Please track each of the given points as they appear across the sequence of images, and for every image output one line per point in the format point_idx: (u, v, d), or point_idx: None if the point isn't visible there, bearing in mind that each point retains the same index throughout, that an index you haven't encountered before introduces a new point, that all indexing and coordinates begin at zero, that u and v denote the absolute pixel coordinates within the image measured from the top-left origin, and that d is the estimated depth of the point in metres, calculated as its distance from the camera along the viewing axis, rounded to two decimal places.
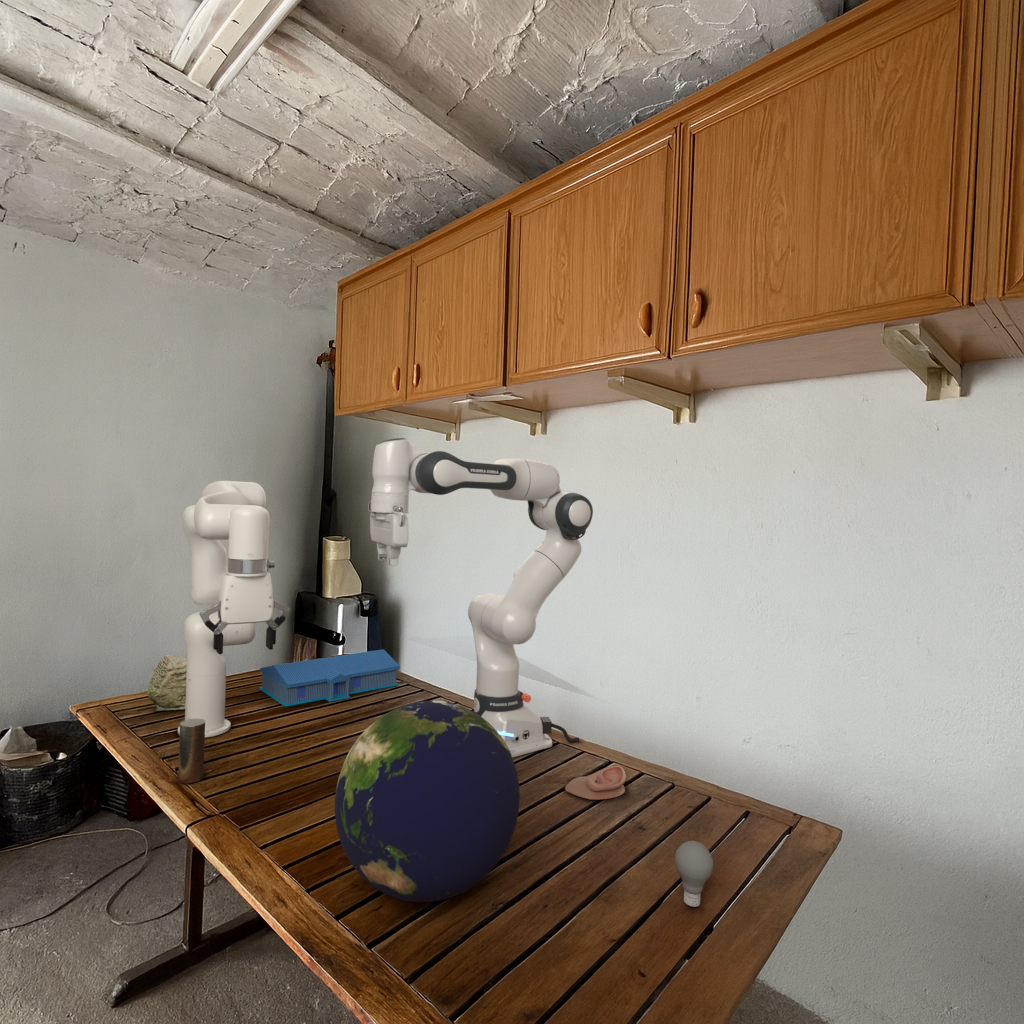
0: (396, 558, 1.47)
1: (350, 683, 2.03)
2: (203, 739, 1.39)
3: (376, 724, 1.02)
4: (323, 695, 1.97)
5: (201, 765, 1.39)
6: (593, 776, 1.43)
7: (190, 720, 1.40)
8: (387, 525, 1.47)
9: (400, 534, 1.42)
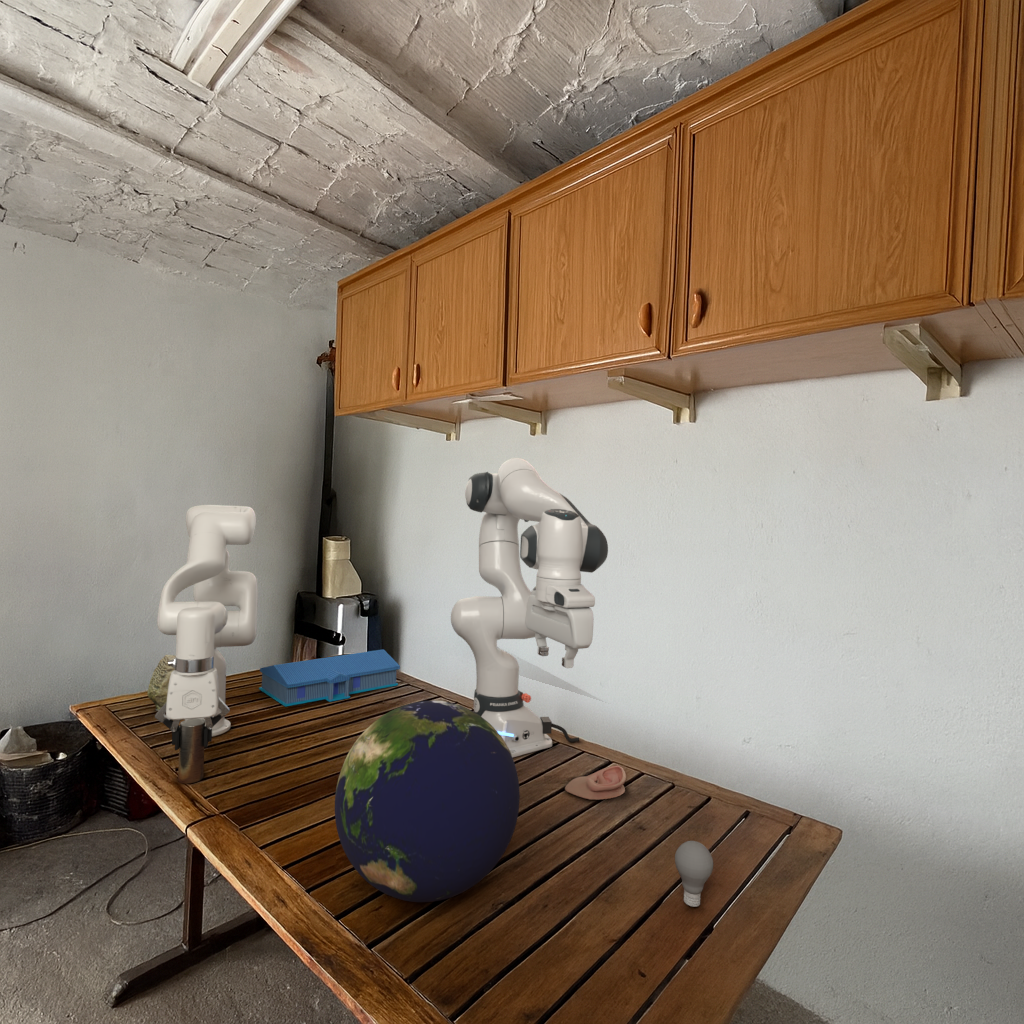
0: None
1: (350, 683, 2.03)
2: (203, 739, 1.39)
3: (376, 724, 1.02)
4: (323, 695, 1.97)
5: (201, 765, 1.39)
6: (593, 776, 1.43)
7: (190, 720, 1.40)
8: None
9: None
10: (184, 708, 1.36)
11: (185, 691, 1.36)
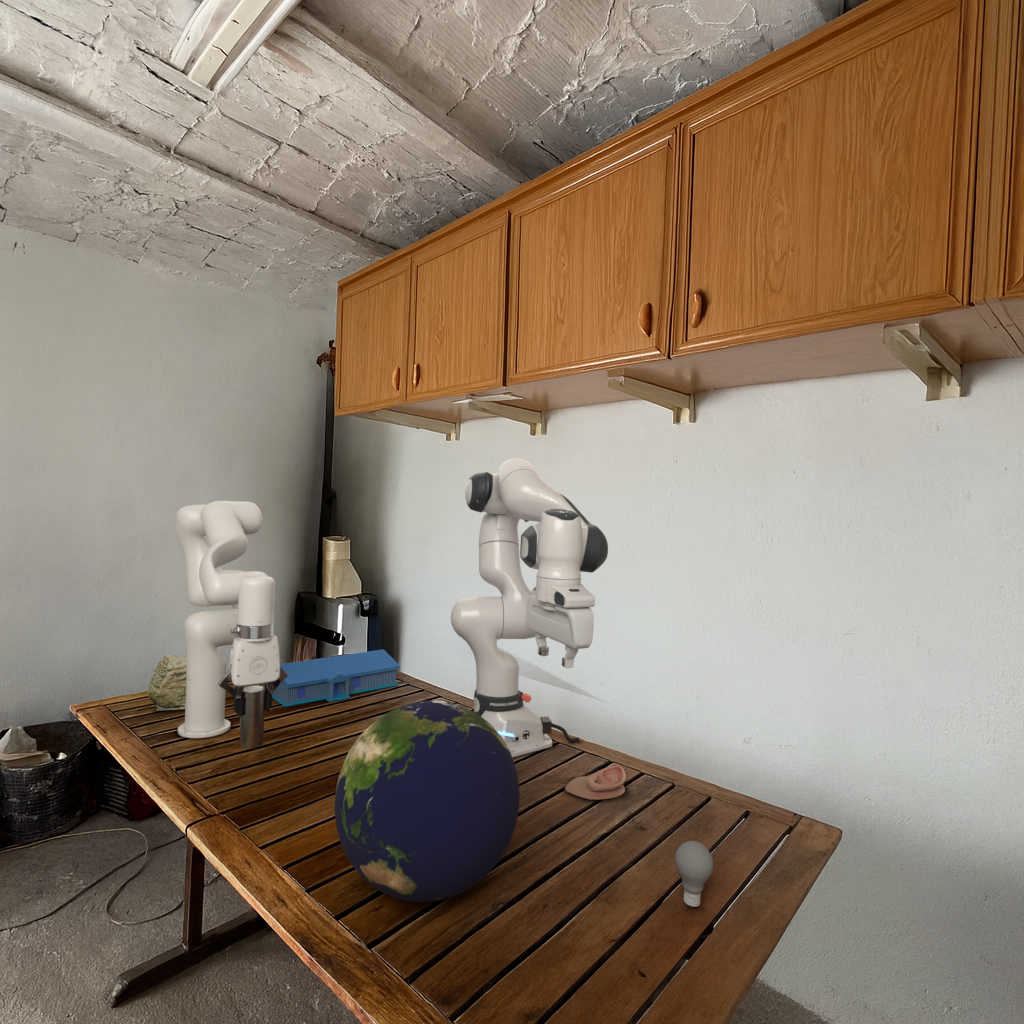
0: None
1: (350, 683, 2.03)
2: (264, 704, 1.42)
3: (376, 724, 1.02)
4: (323, 695, 1.97)
5: (263, 729, 1.42)
6: (593, 776, 1.43)
7: (248, 687, 1.42)
8: None
9: None
10: (251, 674, 1.38)
11: (252, 657, 1.38)
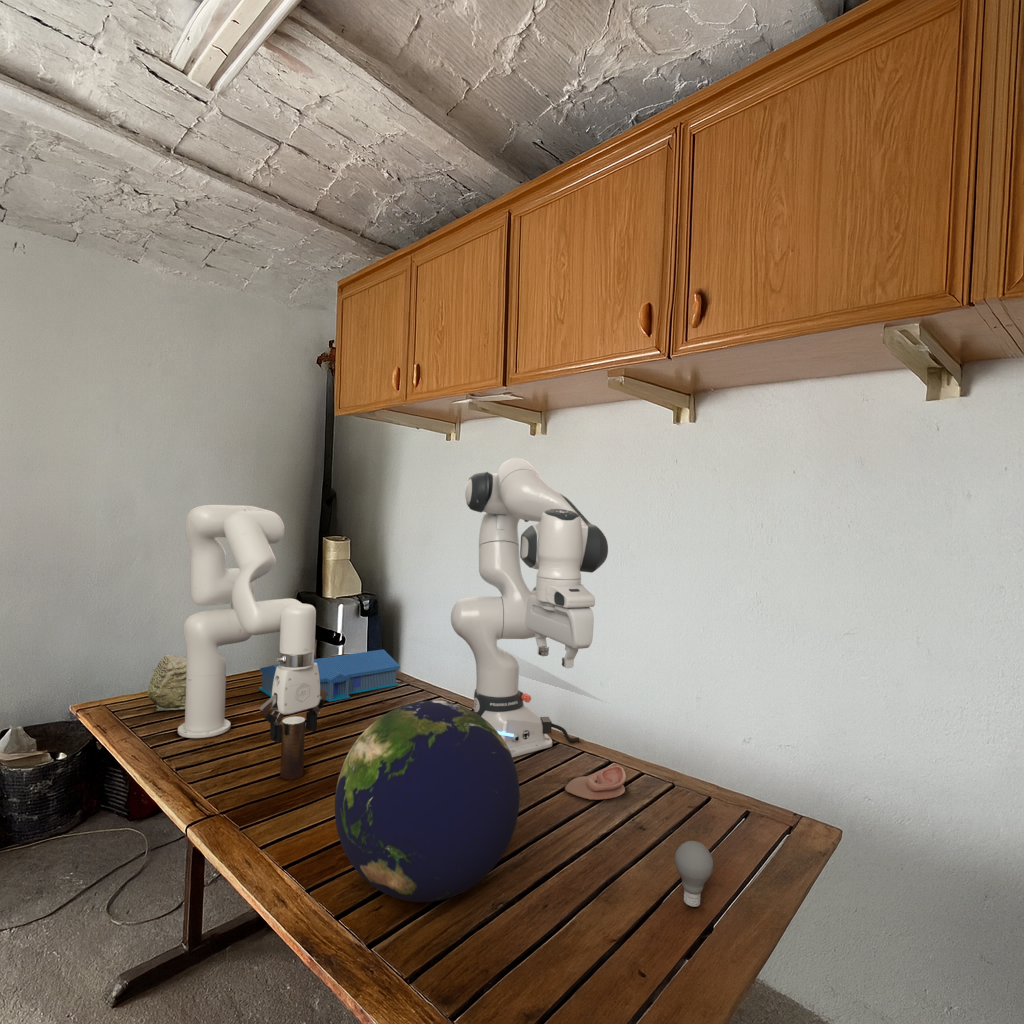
0: None
1: (350, 683, 2.03)
2: None
3: (376, 724, 1.02)
4: None
5: (303, 759, 1.44)
6: (593, 776, 1.43)
7: (287, 719, 1.44)
8: None
9: None
10: (297, 701, 1.40)
11: (298, 685, 1.40)
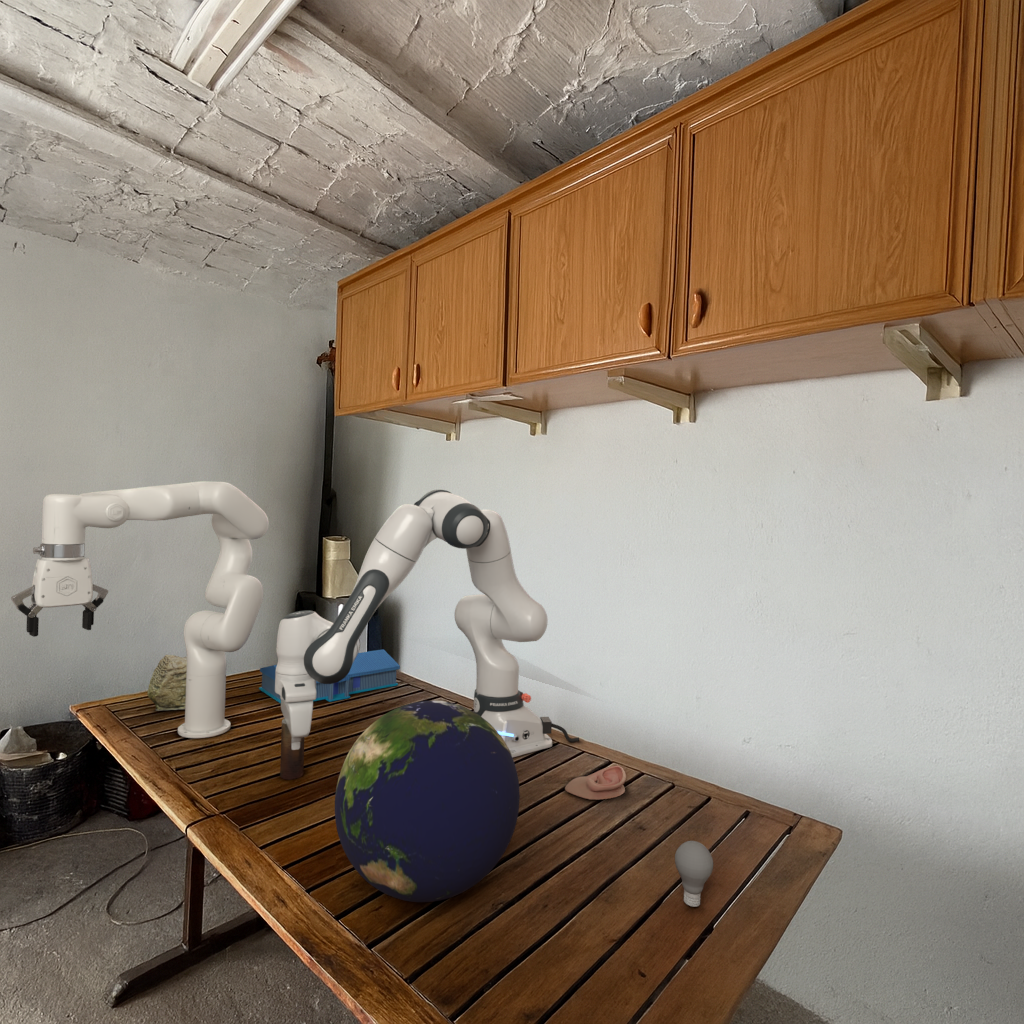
0: None
1: (350, 683, 2.03)
2: None
3: (376, 724, 1.02)
4: (323, 695, 1.97)
5: (303, 759, 1.44)
6: (593, 776, 1.43)
7: None
8: None
9: None
10: (58, 595, 1.32)
11: (59, 577, 1.32)
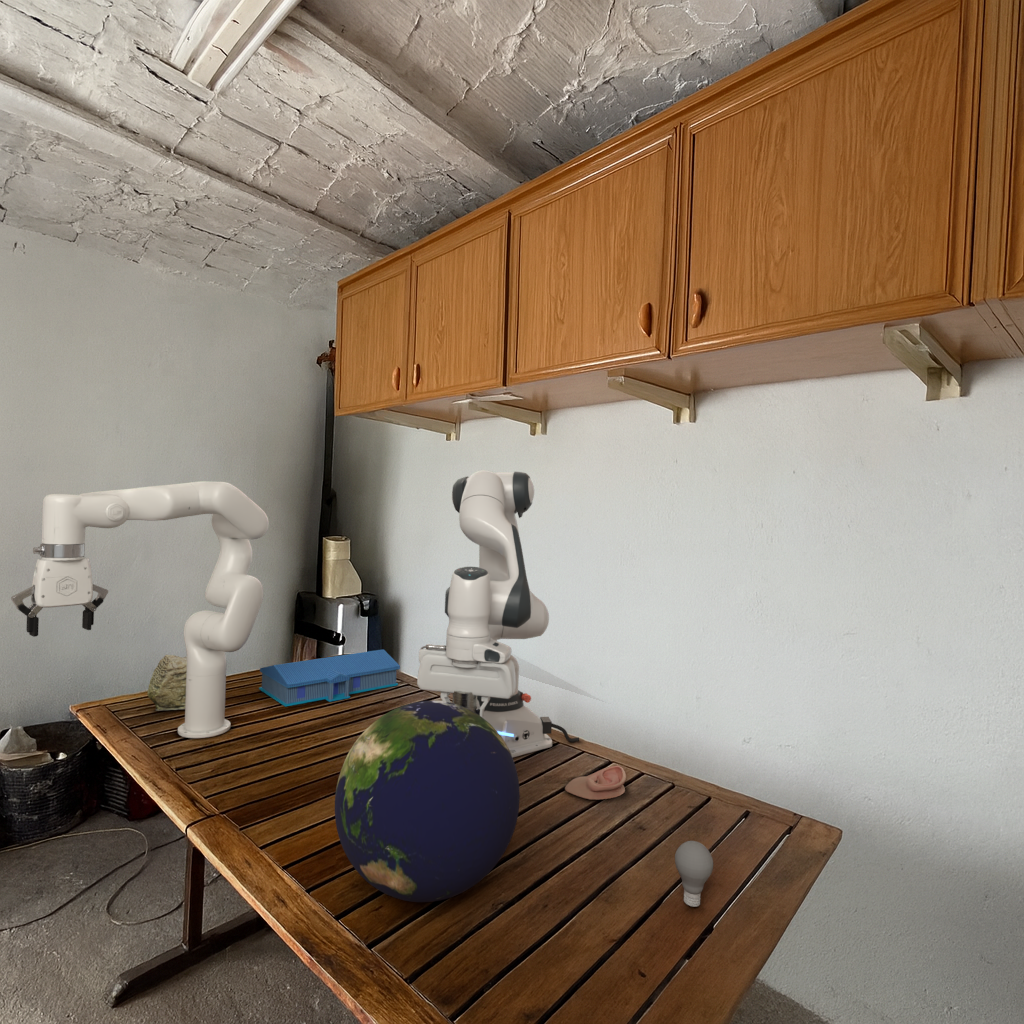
0: None
1: (350, 683, 2.03)
2: None
3: (376, 724, 1.02)
4: (323, 695, 1.97)
5: None
6: (593, 776, 1.43)
7: None
8: None
9: None
10: (58, 595, 1.32)
11: (59, 577, 1.32)
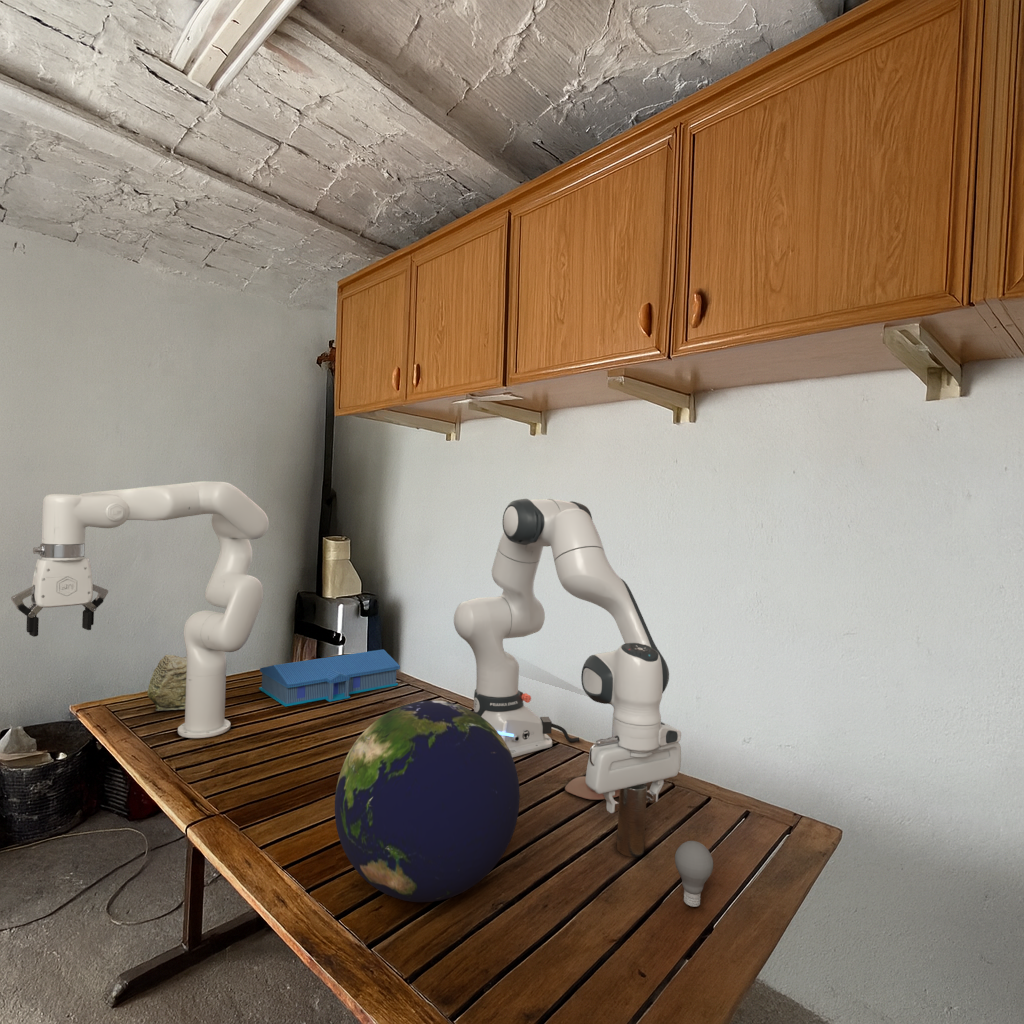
0: (610, 803, 1.15)
1: (350, 683, 2.03)
2: None
3: (376, 724, 1.02)
4: (323, 695, 1.97)
5: None
6: None
7: (633, 787, 1.17)
8: None
9: (590, 774, 1.14)
10: (58, 595, 1.32)
11: (59, 577, 1.32)
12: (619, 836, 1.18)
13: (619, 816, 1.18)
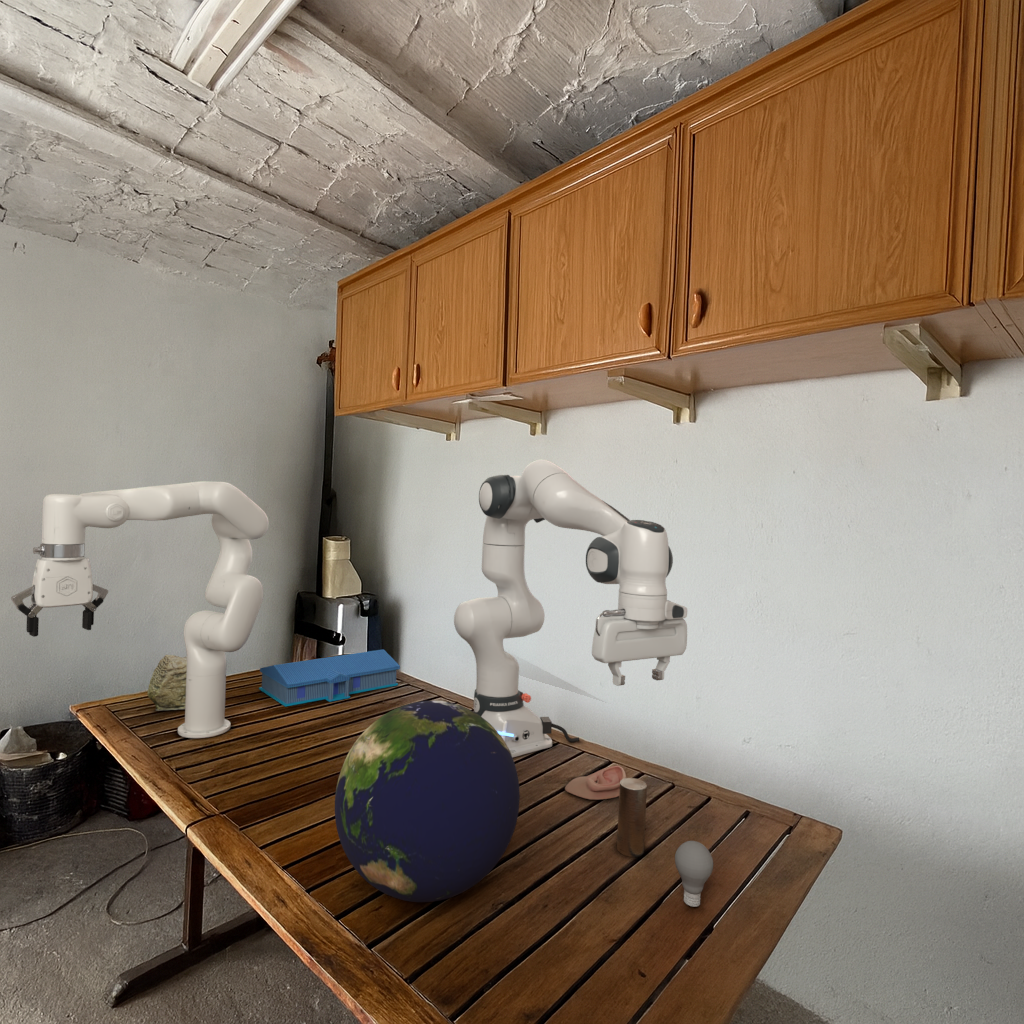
0: (617, 676, 1.15)
1: (350, 683, 2.03)
2: None
3: (376, 724, 1.02)
4: (323, 695, 1.97)
5: None
6: (593, 776, 1.43)
7: (633, 787, 1.17)
8: None
9: (596, 645, 1.13)
10: (58, 595, 1.32)
11: (59, 577, 1.32)
12: (619, 836, 1.18)
13: (619, 816, 1.18)
